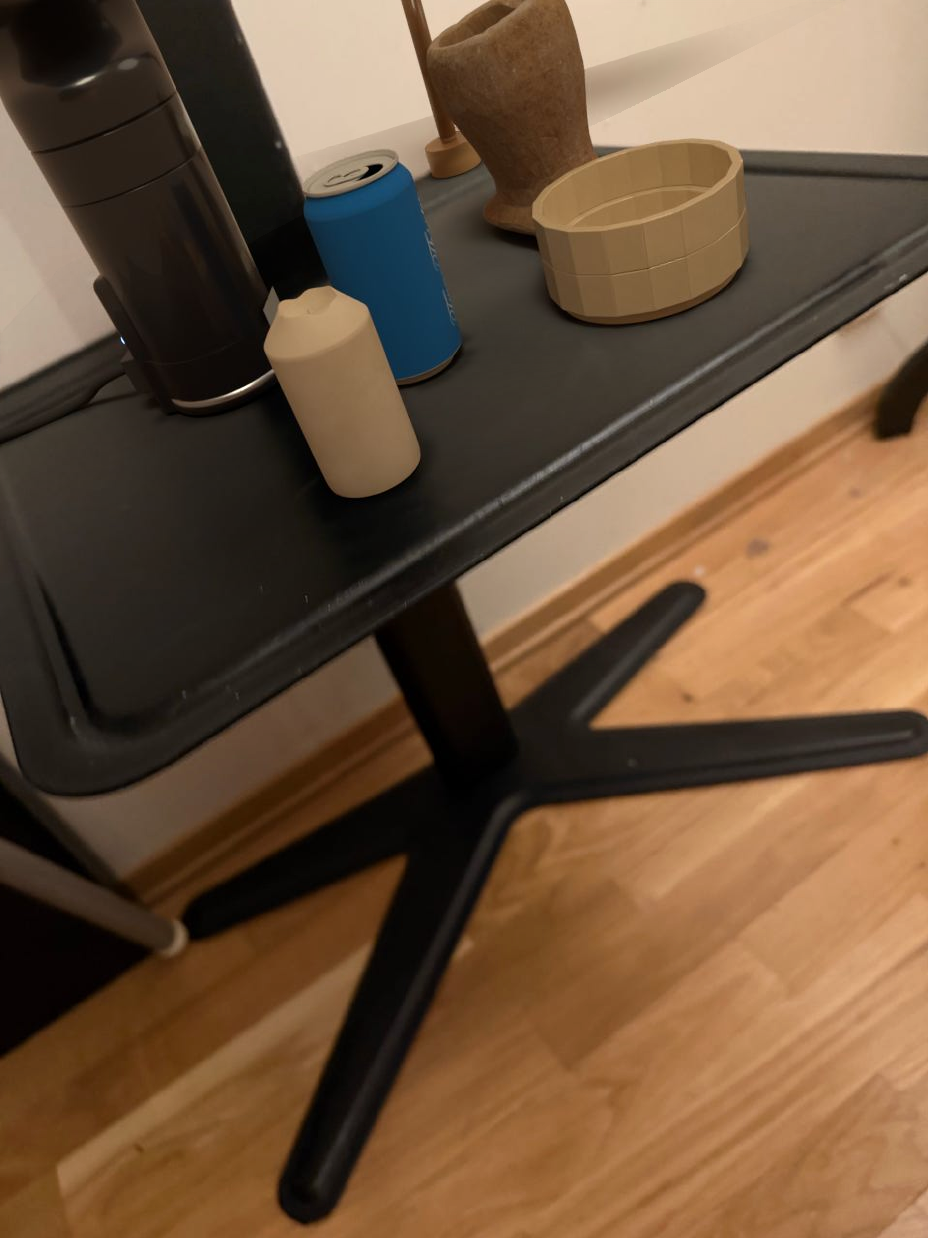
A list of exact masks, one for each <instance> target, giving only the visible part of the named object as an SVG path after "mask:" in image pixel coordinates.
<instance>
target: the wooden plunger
mask: <svg viewBox="0 0 928 1238" xmlns="http://www.w3.org/2000/svg"><path fill="white" fill-rule="evenodd" d="M400 2H401V6H402V8H403V13H404V16H405V19H406V23H407V26H408V30H409V34H410V38H411V41H412V45H413V48H414V51H415V55H416V59H417V63H418V65H419V70H420V73H421V77H422V80H423V83H424V87H425V92H426V95H427V98H428V101H429V105H430V109H431V113H432V116H433V119H434V123H435V127H436V130H437V133H438V134H437V135H438V137H435V138H434V139H432V140H431V141H429V142H428V143H426V145H425V147H424V152H425V155H426V159H427V162H428V165H429V166H428V167H429V169H430V172H431V176H432V177H433V178H435V179H447V178H453V177H457V176H459V175H462V174H465V173H467V172H469V171H471V170H473V169H474V168H476V167H477V166H479V164H481V162H482V160H481V158H480V157H479V155H478V154H477V153H476V151H475V150H474V148H473V147H472V146H471V145H470V143H469V142H468V141H467V140H466V138H465V137H464V136H463V135H462V133H461V132H460V130H459V129H458V130H457V129H456V125H455V124H454V123H453V121H452V120H451V118H450V117H449V115H448V114H447V112H446V111H445V109H444V107H443V105H442V103H441V101H440V99H439V97H438V95H437V93H436V91H435V89H434V86H433V83H432V80H431V77H430V74H429V70H428V67H427V50H428V48H429V46H430V45H431V43H432V41H433V40H432V36H431V33H430V29H429V25H428V20H427V18H426V14H425V10H424V6H423V2H422V0H400Z"/></svg>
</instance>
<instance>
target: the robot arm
mask: <svg viewBox="0 0 928 1238" xmlns="http://www.w3.org/2000/svg"><path fill="white" fill-rule="evenodd" d="M176 88H177V87H176V84H175V82H174V81H173V77H172V76H171V74H170V71H169V69H168V67H167V65H166V62H165V59H164V57H163V55H162V53H161V51H160V49H159V46H158V44H157V42H156V40H155V39H154V36H153V34H152V32H151V31H150V28H149V26H148V24H147V23H146V21H145V18H144V16H143V14H142V12H141V10H140V7H139V5H138V4H137V1H136V0H0V100H1V103H2V105H3V107H4V110H5V112H6V114H7V115H8V117H9V119H10V121H11V122H12V125H13V126H14V127H15V129H16V131H17V132H18V134H19V136H20V137H21V139H22V141H23V143H24V145H25V146H26V148H27V150H28V151H29V152H30V155H31V157H32V159H33V160H34V162H35V164H36V166H37V167H38V169H39V170H40V172H41V174H42V176H43V178H44V179H45V181H46V183H47V184H48V187H49V188H50V190H51V192H52V193H53V195H54V197H55V199H56V200H57V202H58V204H59V205H60V207H61V209H62V210H63V213H64V214H65V215H66V218H67V220H68V221H69V222H70V224H71V227H72V228H73V230H74V232H75V234H76V235H77V236H78V238H79V240H80V242H81V244H82V245H83V247H84V248H85V251H86V253H87V254H88V256H89V258H90V259H91V261H92V263H93V265H94V267H95V269H96V271H98V273H99V274H98V276H97V277H96V278H94V281H93V284H92V289H93V292H94V294H95V296H96V297H97V299H98V300H99V302H100V304H101V306H102V308H103V309H104V310H105V312H106V314H107V316H108V318H109V319H110V321H111V322H112V324H113V326H114V328H115V330H116V331H117V333H118V335H119V336H120V339H121V342H122V343H123V344H124V345H125V347H126V348H127V351H126V353H125V354H124V356H122V359H121V360H120V361H119V364H118V365H116V366H114V367H111V368H110V369H108V370H106V371H105V372H103V373H101V374H100V375H98V376H97V377H95V379H93V380H92V381H91V382H90V383H89V384H88V386H87V388H86V389H85V390H84V391H83V392H82V393H81V394H79V395H78V396H76V397H74V398H73V399H71V400H70V401H68V402H66V403H64V404H62V405H60V406H58V407H56V408H54V409H53V410H50V411H48V412H45V413H43V414H42V415H39V416H37V417H34V418H31V419H28V420H27V421H24V422H21V423H18V424H16V425H13V426H10V427H7V428H4V429H1V430H0V442H4V441H7V440H10V439H12V438H13V439H14V438H16V437H18V436H21V435H25V434H27V433H30V432H32V431H35V430H37V429H39V428H41V427H44V426H46V425H48V424H51V423H53V422H54V421H57V420H60V419H61V418H64V417H66V416H68V415H70V414H71V413H74V412H75V411H77V410H79V409H81V408H82V407H84V406H86V405H87V404H89V403H90V402H92V401H93V400H94V398H95V397H96V395H97V394H98V393H99V391H101V389H102V388H104V387H105V386H107V385H108V384H110V383H112V382H113V381H115V380H117V379H118V378H119V379H120V378H121V377H123V376H125V375H126V376H127V378H128V379H129V381H130V383H131V384H132V386H133V387H134V390H135V391H136V393H137V394H138V395H141V394H147V393H150V392H152V393H153V394H154V397H155V398H156V399H157V401H158V403H159V404H160V406H161V408H162V410H163V411H164V414H167V415H168V414H172V413H177V412H179V413H182V414H184V415H191V416H202V415H209V414H213V413H215V414H216V413H218V412H222V411H226V410H229V409H232V408H235V407H238V406H240V405H243V404H245V403H247V402H249V401H251V400H253V399H255V398H257V397H259V396H260V395H262V394H264V393H266V392H267V391H269V390H270V389H271V388H273V387H275V385H277V384H278V383H279V381H278V379H277V377H276V374H275V372H274V370H273V368H272V366H271V364H270V362H269V360H268V357H267V355H266V353H265V351H264V343H265V340H266V337H267V334H268V332H269V330H270V327H271V325H272V323H273V321H274V319H275V316H276V313H277V309H278V305H279V303H280V302H281V301H280V299H279V297H278V295H277V293H276V291H275V289H274V286H273V285H272V286H271V289H270V291H269V292H268V289H267V287H266V285H265V283H264V280H263V278H262V276H261V273H260V272H259V269H258V267H257V264H256V263H255V261H254V258H253V256H252V254H251V252H250V249H249V247H248V245H247V242H246V240H245V238H244V236H243V234H242V231H241V230H240V227H239V225H238V223H237V220H236V219H235V216H234V214H233V212H232V210H231V207H230V205H229V202H228V201H227V198H226V196H225V194H224V191H223V189H222V187H221V184H220V183H219V181H218V178H217V176H216V174H215V172H214V170H213V168H212V167H213V166H212V165H211V163H210V161H209V158H208V156H207V154H206V152H205V150H204V148H203V145H202V143H201V141H200V139H199V136H198V134H197V132H196V129H195V127H194V125H193V123H192V121H191V118H190V116H189V114H188V112H187V109H186V108H185V105H184V103H183V100H182V98H181V96H180V94H179V92H178V90H177V89H176Z"/></svg>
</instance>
